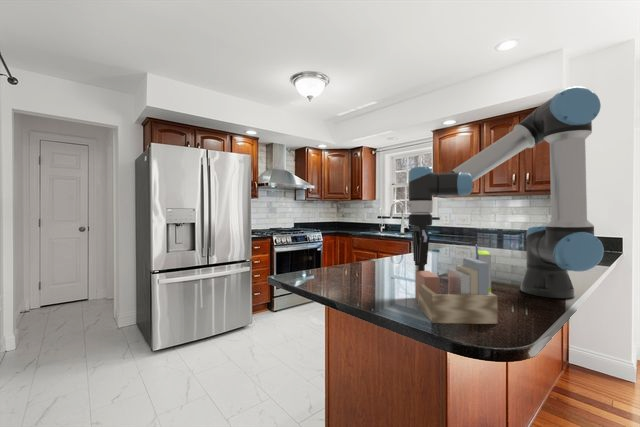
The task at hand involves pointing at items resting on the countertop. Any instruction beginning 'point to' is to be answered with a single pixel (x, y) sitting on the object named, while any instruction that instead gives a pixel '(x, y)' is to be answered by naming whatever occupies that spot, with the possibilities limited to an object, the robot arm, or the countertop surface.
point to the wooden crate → (458, 307)
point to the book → (426, 282)
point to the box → (486, 258)
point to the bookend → (458, 282)
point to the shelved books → (476, 275)
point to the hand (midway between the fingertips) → (420, 284)
